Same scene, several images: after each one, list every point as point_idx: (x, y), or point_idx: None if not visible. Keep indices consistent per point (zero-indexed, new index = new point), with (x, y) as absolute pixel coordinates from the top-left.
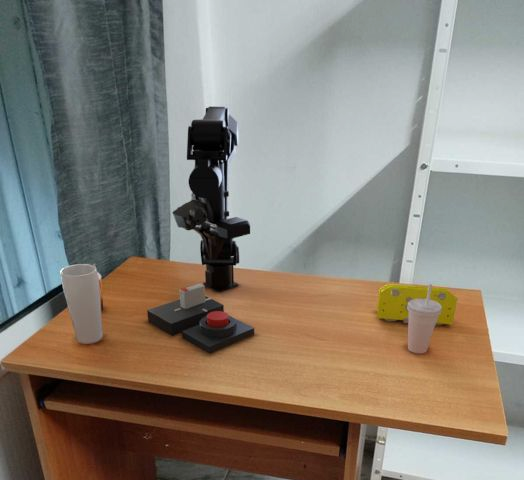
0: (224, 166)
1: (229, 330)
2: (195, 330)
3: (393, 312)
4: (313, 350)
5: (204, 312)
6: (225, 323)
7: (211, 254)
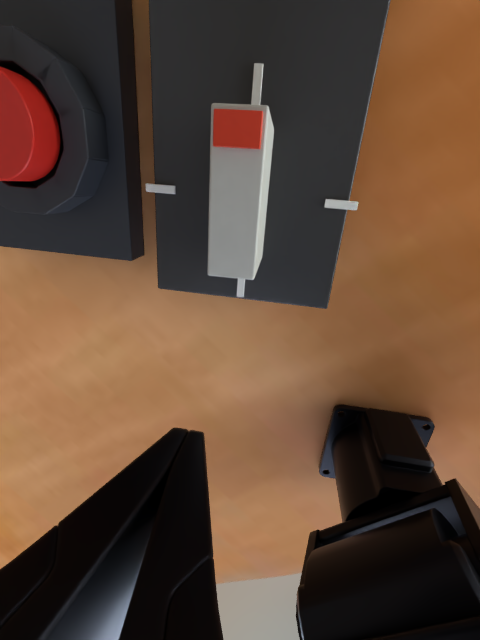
0: None
1: None
2: (81, 42)
3: None
4: None
5: (155, 178)
6: None
7: (143, 458)
